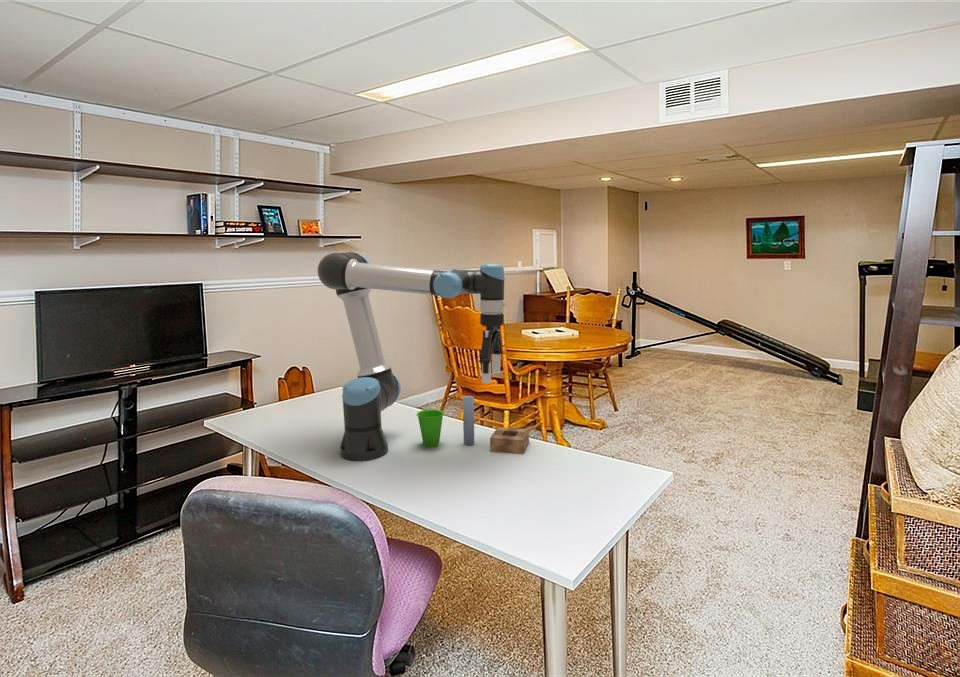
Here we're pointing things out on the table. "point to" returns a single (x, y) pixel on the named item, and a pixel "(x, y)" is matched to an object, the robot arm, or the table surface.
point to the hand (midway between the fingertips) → (491, 378)
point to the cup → (430, 426)
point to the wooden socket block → (509, 440)
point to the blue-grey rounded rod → (468, 420)
